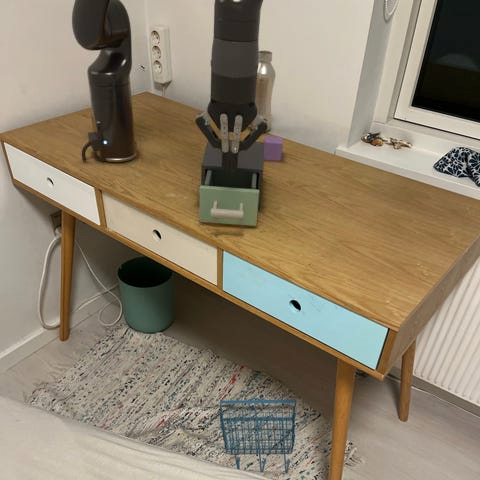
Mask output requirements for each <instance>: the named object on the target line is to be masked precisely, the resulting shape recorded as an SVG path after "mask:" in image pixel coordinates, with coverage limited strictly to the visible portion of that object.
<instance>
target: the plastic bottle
mask: <svg viewBox="0 0 480 480" xmlns="http://www.w3.org/2000/svg"><path fill="white" fill-rule="evenodd" d="M272 61H273V51H269V50H259V61H258V74H257V87H256V99H255V104H256V107H257V114H258V115H259V116H260V117H261V118H262V119H266V120H267V121H268V126H267V130H266V131H265V132H267V131H269V130H270V129H271V127H272V124H273V114H272V99H273V91H274V86H275V81H276V70H275V68H274V66H273V64H272ZM254 122H255V121H254V120H253V121H252V123H251V124H250V125H249V126H248V127H249V129H251V131H252V130H253V129H254V128H253V124H254Z"/></svg>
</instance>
